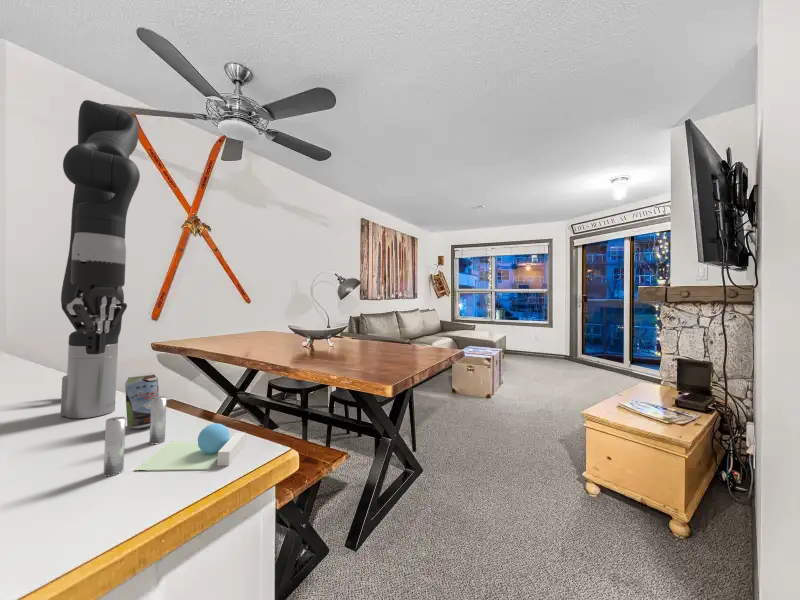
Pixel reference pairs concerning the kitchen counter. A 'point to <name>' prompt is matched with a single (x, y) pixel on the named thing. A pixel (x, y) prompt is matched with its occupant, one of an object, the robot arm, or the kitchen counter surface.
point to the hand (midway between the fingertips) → (95, 353)
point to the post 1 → (114, 445)
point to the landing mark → (179, 458)
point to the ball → (213, 438)
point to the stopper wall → (231, 449)
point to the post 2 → (158, 419)
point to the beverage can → (140, 399)
